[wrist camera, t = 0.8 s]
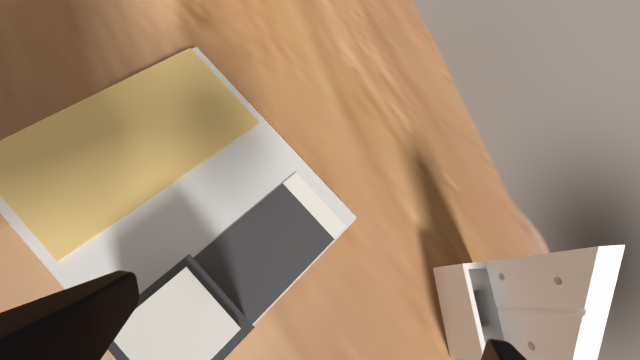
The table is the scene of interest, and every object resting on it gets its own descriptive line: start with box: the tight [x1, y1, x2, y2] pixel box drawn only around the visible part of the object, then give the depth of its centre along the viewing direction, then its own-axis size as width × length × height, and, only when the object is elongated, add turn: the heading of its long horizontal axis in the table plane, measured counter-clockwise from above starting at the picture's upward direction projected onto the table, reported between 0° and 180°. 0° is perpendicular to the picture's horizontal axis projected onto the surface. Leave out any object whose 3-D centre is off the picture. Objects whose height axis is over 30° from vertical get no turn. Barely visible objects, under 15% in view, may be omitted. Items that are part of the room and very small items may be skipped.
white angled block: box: [433, 245, 625, 360], centre depth 19 cm, size 4×10×9 cm, turn 5°
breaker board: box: [0, 47, 356, 326], centre depth 19 cm, size 14×16×2 cm
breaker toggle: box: [108, 254, 254, 360], centre depth 14 cm, size 4×4×5 cm
